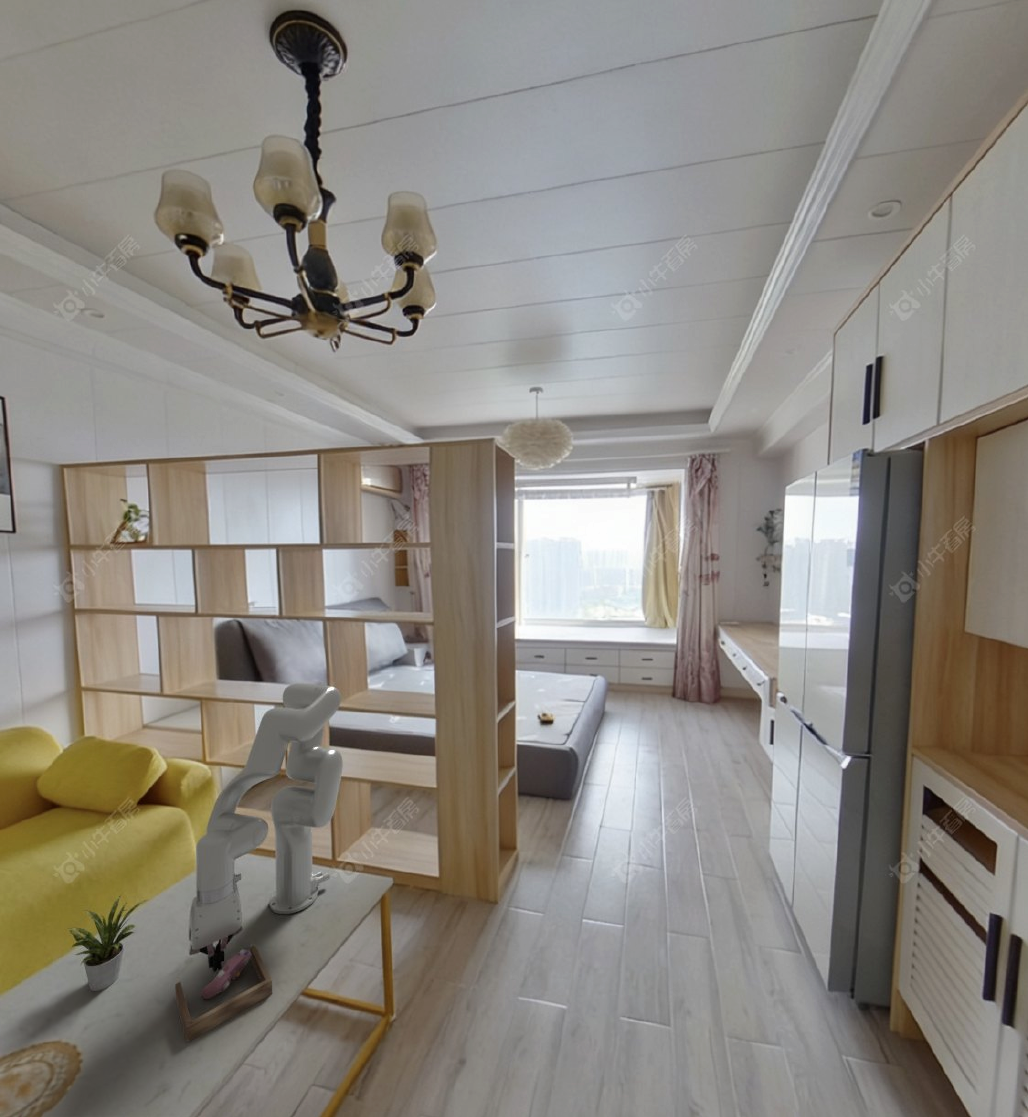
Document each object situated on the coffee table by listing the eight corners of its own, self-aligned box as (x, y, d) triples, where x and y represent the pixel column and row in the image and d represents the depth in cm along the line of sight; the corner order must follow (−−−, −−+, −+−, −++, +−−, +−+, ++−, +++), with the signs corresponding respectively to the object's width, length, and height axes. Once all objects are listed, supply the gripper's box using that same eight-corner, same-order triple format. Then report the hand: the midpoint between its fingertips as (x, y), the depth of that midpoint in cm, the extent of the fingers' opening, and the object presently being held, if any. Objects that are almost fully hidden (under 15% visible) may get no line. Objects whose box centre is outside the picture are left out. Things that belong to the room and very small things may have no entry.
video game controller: (212, 1010, 106) (224, 985, 105) (197, 997, 107) (208, 972, 106) (247, 972, 115) (258, 948, 115) (232, 960, 116) (243, 937, 116)
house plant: (140, 941, 123) (139, 877, 123) (157, 971, 114) (156, 902, 114) (63, 980, 112) (63, 909, 112) (76, 1016, 103) (75, 940, 103)
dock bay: (254, 956, 118) (254, 944, 118) (272, 993, 108) (272, 980, 108) (175, 997, 107) (175, 984, 107) (186, 1042, 97) (186, 1028, 97)
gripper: (247, 867, 120) (247, 940, 120) (174, 895, 110) (174, 976, 110) (255, 881, 115) (256, 959, 115) (179, 913, 105) (180, 998, 105)
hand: (216, 967), depth 113 cm, fingers closed
